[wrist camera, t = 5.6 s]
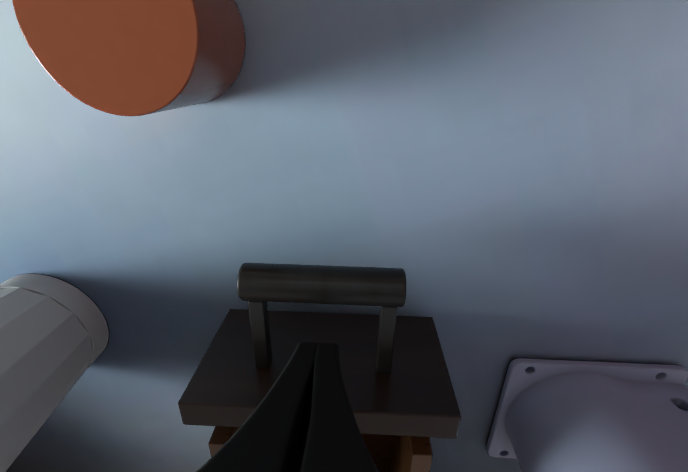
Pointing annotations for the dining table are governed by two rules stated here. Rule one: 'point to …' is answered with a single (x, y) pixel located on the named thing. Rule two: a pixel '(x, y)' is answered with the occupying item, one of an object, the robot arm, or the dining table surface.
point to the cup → (41, 353)
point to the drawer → (354, 354)
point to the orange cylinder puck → (136, 50)
